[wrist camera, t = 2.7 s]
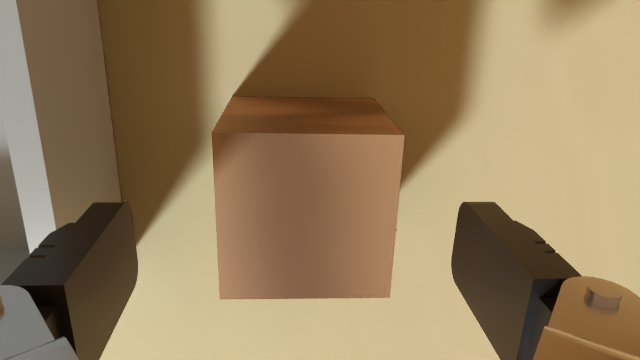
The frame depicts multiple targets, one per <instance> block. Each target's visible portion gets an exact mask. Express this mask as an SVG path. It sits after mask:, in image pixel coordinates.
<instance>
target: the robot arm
mask: <svg viewBox="0 0 640 360" xmlns="http://www.w3.org/2000/svg"><path fill="white" fill-rule="evenodd" d="M451 266H452V274H453V279H454V281H455V284H456V285H457V287H458V289H459V290H460V292H461V294H462V295H463V297H464V299H465V301H466V302H467V304H468V306H469V307H470V309H471V311H472V312H473V314H474V316H475V317H476V319H477V321H478V322H479V324H480V326H481V327H482V329H483V331H484V333H485V334H486V336H487V338H488V339H489V341H490V343H491V344H492V346H493V348H494V349H495V351H496V353H497V354H498V356H499V358H500V359H501V360H640V298H639V297H638V296H637V295H636V294H634V293H633V292H632V291H630V290H628V289H627V288H625V287H623V286H621V285H618V284H616V283H613V282H610V281H607V280H604V279H600V278H594V277H586V276H581V275H580V274H579V273H578V272H577V271H576V270H575V269H574V268H573V267H572V266H571V265H570V264H569V263H568V262H567V261H566V260H564V259H563V258H562V257H561V256H560V255H559V254H558V253H555V250H554V249H553V248H552V247H551V246H550V245H549V244H546V241H545V240H543V239H542V238H541V237H540V236H539V235H538V234H537V233H536V232H535V231H534V230H532V229H530V228H528V227H526V226H525V225H523V224H521V223H519V222H517V221H513V220H512V219H511V218H510V217H509V216H508V215H507V214H506V213H505V212H504V211H503V210H502V209H501V208H500V207H499V206H498V205H497V204H496V203H495V202H463V203H462V204H461V206H460V208H459V212H458V218H457V225H456V232H455V239H454V246H453V253H452V262H451ZM137 274H138V259H137V251H136V242H135V234H134V226H133V217H132V211H131V207H130V205H129V203H127V202H94V203H92V204H91V206H90V207H89V208H88V209H87V210H86V211H85V212H84V213H83V215H82V216H81V217H80V218H79V219H78V220H77V221H76V223H68V224H66V225H64V226H62V227H60V228H58V229H57V230H55V231H53V232H51V233H50V234H49V235H48V236H47V237H46V238H45V239H44V240H43V241H42V242H41V243H40V244H39V245H38V248H35V249H34V250H33V251H32V252H31V254H30V255H29V258H26V259H25V260H24V261H23V262H22V263H21V264H20V265H19V266H18V267H17V268H16V269H15V270H14V271H13V272H12V274H11V275H10V276H9V277H8V278H7V279H6V280H5V281H4V282H3V283H2V284H1V285H0V360H99V359H100V357H101V355H102V353H103V351H104V349H105V347H106V345H107V342H108V340H109V338H110V336H111V334H112V332H113V330H114V328H115V326H116V324H117V322H118V320H119V318H120V316H121V314H122V312H123V310H124V308H125V306H126V304H127V302H128V300H129V298H130V296H131V294H132V292H133V290H134V287H135V285H136V281H137Z"/></svg>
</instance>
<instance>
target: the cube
mask: <svg viewBox="0 0 640 360" xmlns="http://www.w3.org/2000/svg"><path fill="white" fill-rule="evenodd" d="M404 138H405V135H404V134H403V132H402V131H401V130H400V129H399V128H398V127H397V125H396V124H395V123H394V122H393V121H392V119H391V118H390V117H389V116H388V115H387V114H386V112H385V111H384V110H383V109H382V108H381V106H380V105H379V104H378V103H377V102H376V100H375V99H366V98H310V97H255V96H232V98H231V99H230V101H229V103H228V105H227V106H226V108H225V110H224V112H223V114H222V115H221V117H220V119H219V121H218V122H217V124H216V126H215V128H214V130H213V131H212V146H213V167H214V188H215V208H216V229H217V249H218V270H219V291H220V299H300V298H390V288H391V277H392V267H393V256H394V245H395V234H396V224H397V213H398V202H399V191H400V181H401V170H402V159H403V148H404Z"/></svg>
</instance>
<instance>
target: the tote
mask: <svg viewBox="0 0 640 360" xmlns="http://www.w3.org/2000/svg"><path fill="white" fill-rule="evenodd" d="M94 202H121V194H120V185H119V177H118V169H117V161H116V152H115V144H114V136H113V128H112V120H111V111H110V103H109V95H108V87H107V78H106V70H105V62H104V54H103V46H102V37H101V29H100V21H99V13H98V4H97V0H0V285H1V284H2V283H3V282H4V281H5V280H6V279H7V278H8V277H9V276H10V275H11V274H12V272H13V271H14V270H15V269H16V268H17V267H18V266H19V265H20V264H21V263H22V262H23V261H24V260H25V259H26V258H29V255H30V254H31V252H32V251H33V250H34V249H35V248H38V245H39V244H40V243H41V242H42V241H43V240H44V239H45V238H46V237H47V236H48V235H49V234H50V233H51V232H53V231H55V230H57V229H58V228H60V227H62V226H64V225H66V224H68V223H76V221H77V220H78V219H79V218H80V217H81V216H82V215H83V213H84V212H85V211H86V210H87V209H88V208H89V207H90V206H91V204H92V203H94Z"/></svg>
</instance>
